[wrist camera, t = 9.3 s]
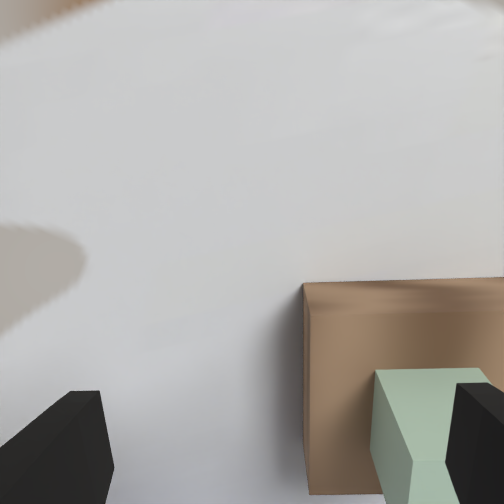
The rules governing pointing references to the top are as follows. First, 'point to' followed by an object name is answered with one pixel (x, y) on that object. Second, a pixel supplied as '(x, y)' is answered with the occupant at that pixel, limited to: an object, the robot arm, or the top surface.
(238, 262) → the top surface
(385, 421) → the sage block
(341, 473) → the walnut base block
